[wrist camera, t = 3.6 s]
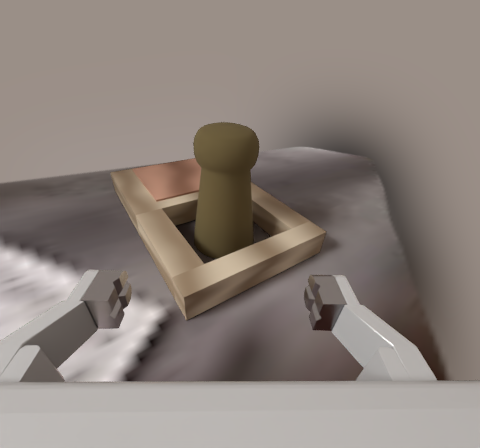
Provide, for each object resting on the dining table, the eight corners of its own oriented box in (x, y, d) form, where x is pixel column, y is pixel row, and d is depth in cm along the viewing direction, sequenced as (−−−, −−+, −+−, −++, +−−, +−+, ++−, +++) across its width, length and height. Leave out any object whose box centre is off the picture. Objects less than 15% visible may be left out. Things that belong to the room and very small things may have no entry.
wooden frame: (186, 320, 17) (183, 295, 16) (115, 190, 32) (109, 170, 30) (319, 252, 24) (327, 230, 22) (210, 171, 38) (210, 154, 37)
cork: (180, 241, 24) (168, 124, 18) (219, 215, 28) (220, 113, 22) (230, 269, 21) (236, 142, 15) (264, 236, 26) (281, 126, 19)
